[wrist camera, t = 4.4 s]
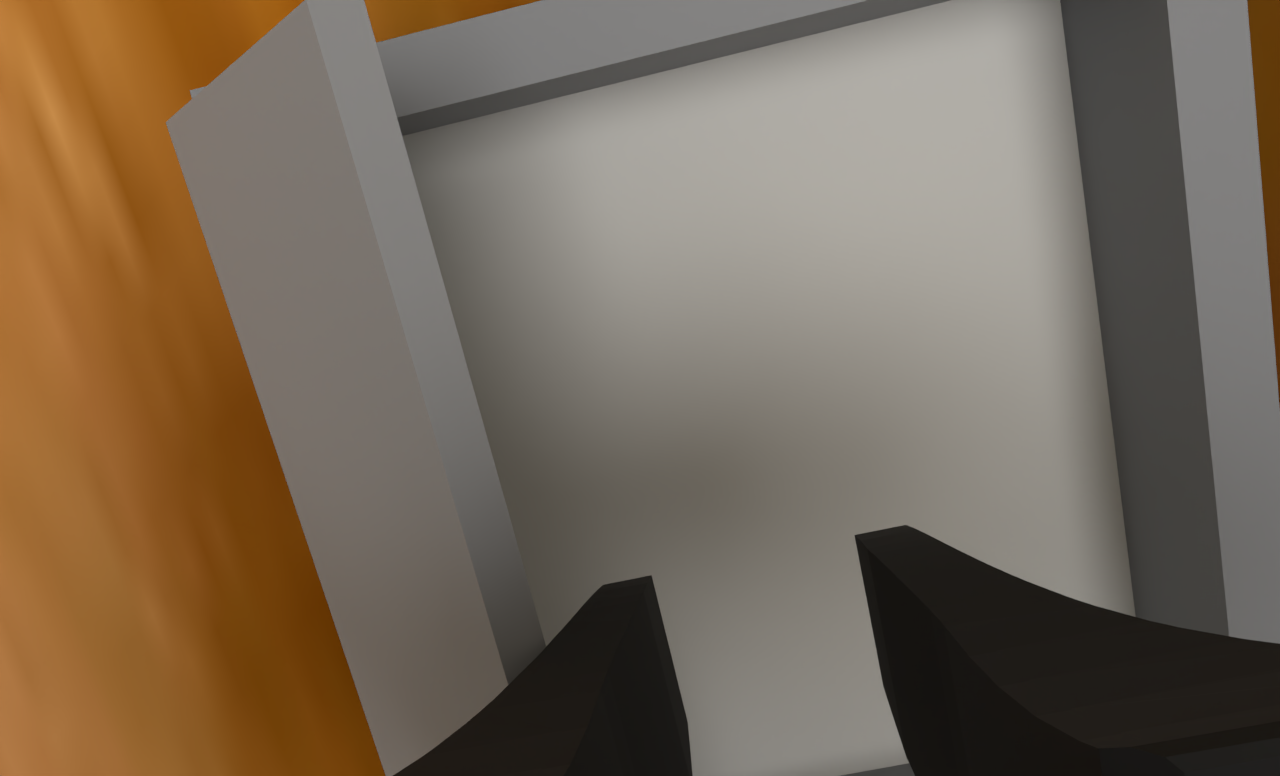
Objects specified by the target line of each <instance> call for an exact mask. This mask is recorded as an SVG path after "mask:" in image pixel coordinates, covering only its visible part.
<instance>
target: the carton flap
mask: <svg viewBox="0 0 1280 776" xmlns="http://www.w3.org/2000/svg"><path fill="white" fill-rule="evenodd" d="M166 125H167V128H168V131H169V133H170V136H171V139H172V142H173V145H174V148H175V151H176V154H177V157H178V160H179V163H180V166H181V169H182V172H183V175H184V178H185V181H186V184H187V187H188V190H189V193H190V196H191V199H192V202H193V205H194V208H195V211H196V214H197V217H198V220H199V223H200V226H201V229H202V231H203V234H204V237H205V240H206V243H207V246H208V249H209V252H210V255H211V258H212V261H213V264H214V267H215V270H216V273H217V276H218V279H219V282H220V285H221V288H222V291H223V294H224V297H225V300H226V303H227V306H228V309H229V312H230V315H231V318H232V321H233V324H234V327H235V329H236V332H237V335H238V338H239V341H240V344H241V347H242V350H243V353H244V356H245V359H246V362H247V365H248V368H249V371H250V374H251V377H252V380H253V383H254V386H255V389H256V392H257V395H258V398H259V401H260V404H261V407H262V410H263V413H264V416H265V419H266V422H267V425H268V427H269V430H270V433H271V436H272V439H273V442H274V445H275V448H276V451H277V454H278V457H279V460H280V463H281V466H282V469H283V472H284V475H285V478H286V481H287V484H288V487H289V490H290V493H291V496H292V499H293V502H294V505H295V508H296V511H297V514H298V517H299V520H300V522H301V525H302V528H303V531H304V534H305V537H306V540H307V543H308V546H309V549H310V552H311V555H312V558H313V561H314V564H315V567H316V570H317V573H318V576H319V579H320V582H321V585H322V588H323V591H324V594H325V597H326V600H327V603H328V606H329V609H330V612H331V615H332V618H333V620H334V623H335V626H336V629H337V632H338V635H339V638H340V641H341V644H342V647H343V650H344V653H345V656H346V659H347V662H348V665H349V668H350V671H351V674H352V677H353V680H354V683H355V686H356V689H357V692H358V695H359V698H360V701H361V704H362V707H363V710H364V713H365V716H366V718H367V721H368V724H369V727H370V730H371V733H372V736H373V739H374V742H375V745H376V748H377V751H378V754H379V757H380V760H381V763H382V766H383V769H384V772H385V775H386V776H393V775H395V774H396V773H398V772H399V771H401V770H402V769H404V768H405V767H407V766H408V765H410V764H412V763H413V762H415V761H416V760H418V759H419V758H421V757H422V756H424V755H425V754H427V753H428V752H429V751H431V750H432V749H433V748H435V747H436V746H437V745H439V744H440V743H441V742H443V741H444V740H445V739H446V738H448V737H449V736H450V735H452V734H453V733H454V732H455V731H457V730H458V729H459V728H461V727H462V726H463V725H464V724H466V723H467V722H468V721H469V720H470V719H472V718H473V717H474V716H475V715H476V714H478V713H479V712H480V711H481V710H482V709H483V708H485V707H486V706H487V705H488V704H489V703H490V702H491V701H492V700H494V699H495V698H496V697H497V696H498V695H499V694H500V693H501V692H502V691H503V690H504V689H505V688H506V687H507V686H508V685H509V684H510V683H511V682H512V681H513V680H514V679H515V678H516V677H517V676H518V675H519V674H520V673H521V672H522V671H523V670H524V669H525V668H526V667H527V666H528V665H529V664H530V663H531V662H532V661H533V660H534V659H535V658H536V657H537V656H538V655H539V654H540V653H541V652H542V651H543V650H544V649H545V647H546V644H545V641H544V637H543V634H542V630H541V626H540V623H539V619H538V616H537V612H536V609H535V605H534V602H533V598H532V595H531V591H530V587H529V584H528V580H527V577H526V573H525V570H524V566H523V563H522V559H521V555H520V552H519V548H518V545H517V541H516V538H515V534H514V531H513V527H512V524H511V520H510V516H509V513H508V509H507V506H506V502H505V499H504V495H503V492H502V488H501V485H500V481H499V477H498V474H497V470H496V467H495V463H494V460H493V456H492V453H491V449H490V446H489V442H488V438H487V435H486V431H485V428H484V424H483V421H482V417H481V414H480V410H479V407H478V403H477V399H476V396H475V392H474V389H473V385H472V382H471V378H470V375H469V371H468V367H467V364H466V360H465V357H464V353H463V350H462V346H461V343H460V339H459V336H458V332H457V328H456V325H455V321H454V318H453V314H452V311H451V307H450V304H449V300H448V297H447V293H446V289H445V286H444V282H443V279H442V275H441V272H440V268H439V265H438V261H437V258H436V254H435V250H434V247H433V243H432V240H431V236H430V233H429V229H428V226H427V222H426V219H425V215H424V211H423V208H422V204H421V201H420V197H419V194H418V190H417V187H416V183H415V180H414V176H413V172H412V169H411V165H410V162H409V158H408V155H407V151H406V148H405V144H404V140H403V137H402V133H401V130H400V126H399V123H398V119H397V116H396V112H395V109H394V105H393V101H392V98H391V94H390V91H389V87H388V84H387V80H386V77H385V73H384V70H383V66H382V62H381V59H380V55H379V52H378V48H377V45H376V41H375V38H374V34H373V31H372V27H371V23H370V20H369V16H368V13H367V9H366V6H365V2H364V0H305V1H303V2H302V3H301V4H300V5H299V6H298V7H297V8H295V9H294V10H293V11H292V12H291V13H290V14H289V15H287V16H286V17H285V18H284V19H283V20H282V21H281V22H279V23H278V24H277V25H276V26H275V27H274V28H273V29H272V30H270V31H269V32H268V33H267V34H266V35H265V36H264V37H262V38H261V39H260V40H259V41H258V42H257V43H256V44H254V45H253V46H252V47H251V48H250V49H249V50H248V51H246V52H245V53H244V54H243V55H242V56H241V57H240V58H238V59H237V60H236V61H235V62H234V63H233V64H232V65H230V66H229V67H228V68H227V69H226V70H225V71H224V72H222V73H221V74H220V75H219V76H218V77H217V78H216V79H215V80H213V81H212V82H211V83H210V84H209V85H208V86H207V87H205V88H204V89H203V90H202V91H201V92H200V93H199V94H197V95H196V96H195V97H194V98H193V99H192V100H191V101H189V102H188V103H187V104H186V105H185V106H184V107H183V108H181V109H180V110H179V111H178V112H177V113H176V114H175V115H173V116H172V117H171V118H170V119H169V120H168V121H167V122H166Z"/></svg>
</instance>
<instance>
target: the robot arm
mask: <svg viewBox="0 0 1280 776" xmlns="http://www.w3.org/2000/svg"><path fill="white" fill-rule="evenodd" d="M855 541H856V546H857V551H858V556H859V562H860V567H861V572H862V577H863V583H864V588H865V593H866V598H867V604H868V609H869V614H870V619H871V625H872V630H873V635H874V640H875V646H876V651H877V656H878V661H879V667H880V672H881V677H882V682H883V687H884V690H885V693H886V696H887V700H888V703H889V706H890V709H891V712H892V715H893V718H894V721H895V724H896V727H897V730H898V733H899V736H900V739H901V742H902V745H903V748H904V751H905V754H906V757H907V759H908V762H909V764H910V766H911V768H912V770H913V772H914V775H915V776H1280V644H1279V643H1271V642H1263V641H1255V640H1248V639H1241V638H1236V637H1230V636H1224V635H1219V634H1213V633H1208V632H1202V631H1197V630H1191V629H1186V628H1180V627H1176V626H1171V625H1167V624H1162V623H1158V622H1153V621H1149V620H1145V619H1141V618H1138V617H1134V616H1130V615H1127V614H1123V613H1120V612H1116V611H1112V610H1109V609H1105V608H1101V607H1098V606H1094V605H1091V604H1088V603H1085V602H1082V601H1079V600H1076V599H1073V598H1070V597H1067V596H1064V595H1062V594H1059V593H1056V592H1054V591H1051V590H1049V589H1046V588H1043V587H1041V586H1038V585H1035V584H1033V583H1030V582H1027V581H1025V580H1023V579H1020V578H1018V577H1016V576H1013V575H1011V574H1009V573H1006V572H1004V571H1002V570H999V569H997V568H995V567H993V566H991V565H988V564H986V563H984V562H982V561H980V560H978V559H976V558H974V557H972V556H970V555H967V554H965V553H963V552H961V551H959V550H957V549H955V548H953V547H951V546H949V545H947V544H945V543H943V542H941V541H939V540H937V539H935V538H934V537H932V536H930V535H928V534H926V533H924V532H921V531H919V530H917V529H915V528H913V527H910V526H908V525H903V526H898V527H893V528H887V529H882V530H877V531H872V532H867V533H862V534H857V535H855ZM393 776H693V775H692V762H691V752H690V741H689V730H688V721H687V717H686V713H685V709H684V705H683V701H682V697H681V693H680V689H679V685H678V681H677V676H676V672H675V668H674V664H673V660H672V656H671V652H670V648H669V644H668V640H667V636H666V632H665V628H664V624H663V620H662V616H661V612H660V607H659V603H658V599H657V595H656V591H655V587H654V583H653V579H652V575H650V576H645V577H640V578H635V579H630V580H625V581H620V582H615V583H609V584H604V585H602V586H601V587H600V588H599V589H598V590H597V591H596V592H595V593H594V594H593V595H592V596H591V597H590V598H589V599H588V600H587V601H586V602H585V604H584V605H583V606H582V607H581V608H580V609H579V610H578V612H577V613H576V614H575V615H574V616H573V617H572V618H571V620H570V621H569V622H568V623H567V624H566V625H565V626H564V627H563V629H562V630H561V631H560V632H559V633H558V634H557V635H556V636H555V637H554V639H553V640H552V641H551V642H550V643H549V644H548V645H547V646H546V647H545V649H544V650H543V651H542V652H541V653H540V654H539V655H538V656H537V657H536V658H535V659H534V660H533V661H532V662H531V663H530V664H529V665H528V666H527V667H526V668H525V669H524V670H523V671H522V672H521V673H520V674H519V675H518V676H517V677H516V678H515V679H514V680H513V681H512V682H511V683H510V684H509V685H508V686H507V687H506V688H505V689H504V690H503V691H502V692H501V693H500V694H499V695H498V696H497V697H496V698H495V699H494V700H492V701H491V702H490V703H489V704H488V705H487V706H486V707H485V708H483V709H482V710H481V711H480V712H479V713H478V714H476V715H475V716H474V717H473V718H472V719H470V720H469V721H468V722H467V723H466V724H464V725H463V726H462V727H461V728H459V729H458V730H457V731H455V732H454V733H453V734H452V735H450V736H449V737H448V738H446V739H445V740H444V741H443V742H441V743H440V744H439V745H437V746H436V747H435V748H433V749H432V750H431V751H429V752H428V753H427V754H425V755H424V756H422V757H421V758H419V759H418V760H416V761H415V762H413V763H412V764H410V765H408V766H407V767H405V768H404V769H402V770H401V771H399V772H398V773H396V774H395V775H393Z"/></svg>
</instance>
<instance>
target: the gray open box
mask: <svg viewBox="0 0 1280 776" xmlns="http://www.w3.org/2000/svg"><path fill="white" fill-rule="evenodd" d="M376 45H377V48H378V52H379V55H380V59H381V62H382V66H383V70H384V73H385V77H386V80H387V84H388V87H389V91H390V94H391V98H392V101H393V105H394V109H395V112H396V116H397V119H398V123H399V126H400V130H401V133H402V137H403V140H404V144H405V148H406V151H407V155H408V158H409V162H410V165H411V169H412V172H413V176H414V180H415V183H416V187H417V190H418V194H419V197H420V201H421V204H422V208H423V211H424V215H425V219H426V222H427V226H428V229H429V233H430V236H431V240H432V243H433V247H434V250H435V254H436V258H437V261H438V265H439V268H440V272H441V275H442V279H443V282H444V286H445V289H446V293H447V297H448V300H449V304H450V307H451V311H452V314H453V318H454V321H455V325H456V328H457V332H458V336H459V339H460V343H461V346H462V350H463V353H464V357H465V360H466V364H467V367H468V371H469V375H470V378H471V382H472V385H473V389H474V392H475V396H476V399H477V403H478V407H479V410H480V414H481V417H482V421H483V424H484V428H485V431H486V435H487V438H488V442H489V446H490V449H491V453H492V456H493V460H494V463H495V467H496V470H497V474H498V477H499V481H500V485H501V488H502V492H503V495H504V499H505V502H506V506H507V509H508V513H509V516H510V520H511V524H512V527H513V531H514V534H515V538H516V541H517V545H518V548H519V552H520V555H521V559H522V563H523V566H524V570H525V573H526V577H527V580H528V584H529V587H530V591H531V595H532V598H533V602H534V605H535V609H536V612H537V616H538V619H539V623H540V626H541V630H542V634H543V637H544V641H545V644H546V646H547V645H548V644H549V643H550V642H551V641H552V640H553V639H554V637H555V636H556V635H557V634H558V633H559V632H560V631H561V630H562V629H563V627H564V626H565V625H566V624H567V623H568V622H569V621H570V620H571V618H572V617H573V616H574V615H575V614H576V613H577V612H578V610H579V609H580V608H581V607H582V606H583V605H584V604H585V602H586V601H587V600H588V599H589V598H590V597H591V596H592V595H593V594H594V593H595V592H596V591H597V590H598V589H599V588H600V587H601V586H602V585H604V584H609V583H615V582H620V581H625V580H630V579H635V578H640V577H645V576H650V575H652V579H653V583H654V587H655V591H656V595H657V599H658V603H659V607H660V612H661V616H662V620H663V624H664V628H665V632H666V636H667V640H668V644H669V648H670V652H671V656H672V660H673V664H674V668H675V672H676V676H677V681H678V685H679V689H680V693H681V697H682V701H683V705H684V709H685V713H686V717H687V721H688V730H689V741H690V752H691V762H692V775H693V776H915V775H914V772H913V770H912V768H911V766H910V764H909V762H908V759H907V757H906V754H905V751H904V748H903V745H902V742H901V739H900V736H899V733H898V730H897V727H896V724H895V721H894V718H893V715H892V712H891V709H890V706H889V703H888V700H887V696H886V693H885V690H884V687H883V682H882V677H881V672H880V667H879V661H878V656H877V651H876V646H875V640H874V635H873V630H872V625H871V619H870V614H869V609H868V604H867V598H866V593H865V588H864V583H863V577H862V572H861V567H860V562H859V556H858V551H857V546H856V541H855V535H857V534H862V533H867V532H872V531H877V530H882V529H887V528H893V527H898V526H903V525H908V526H910V527H913V528H915V529H917V530H919V531H921V532H924V533H926V534H928V535H930V536H932V537H934V538H935V539H937V540H939V541H941V542H943V543H945V544H947V545H949V546H951V547H953V548H955V549H957V550H959V551H961V552H963V553H965V554H967V555H970V556H972V557H974V558H976V559H978V560H980V561H982V562H984V563H986V564H988V565H991V566H993V567H995V568H997V569H999V570H1002V571H1004V572H1006V573H1009V574H1011V575H1013V576H1016V577H1018V578H1020V579H1023V580H1025V581H1027V582H1030V583H1033V584H1035V585H1038V586H1041V587H1043V588H1046V589H1049V590H1051V591H1054V592H1056V593H1059V594H1062V595H1064V596H1067V597H1070V598H1073V599H1076V600H1079V601H1082V602H1085V603H1088V604H1091V605H1094V606H1098V607H1101V608H1105V609H1109V610H1112V611H1116V612H1120V613H1123V614H1127V615H1130V616H1134V617H1138V618H1141V619H1145V620H1149V621H1153V622H1158V623H1162V624H1167V625H1171V626H1176V627H1180V628H1186V629H1191V630H1197V631H1202V632H1208V633H1213V634H1219V635H1224V636H1230V637H1236V638H1241V639H1248V640H1255V641H1263V642H1271V643H1279V644H1280V408H1279V396H1278V383H1277V371H1276V358H1275V345H1274V333H1273V320H1272V308H1271V295H1270V283H1269V270H1268V258H1267V245H1266V232H1265V220H1264V207H1263V195H1262V182H1261V170H1260V157H1259V145H1258V132H1257V119H1256V107H1255V94H1254V82H1253V69H1252V57H1251V44H1250V32H1249V19H1248V7H1247V0H541V1H537V2H533V3H530V4H526V5H522V6H518V7H514V8H510V9H506V10H502V11H498V12H494V13H491V14H487V15H483V16H479V17H475V18H471V19H467V20H463V21H459V22H455V23H452V24H448V25H444V26H440V27H436V28H432V29H428V30H424V31H420V32H417V33H413V34H409V35H405V36H401V37H397V38H393V39H389V40H385V41H381V42H378V43H376ZM206 87H207V86H206ZM204 88H205V87H202V88H198V89H194V90H190V93H191V96H192V99H193V98H194V97H195V96H196V95H197V94H199V93H200V92H201V91H202V90H203V89H204Z"/></svg>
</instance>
